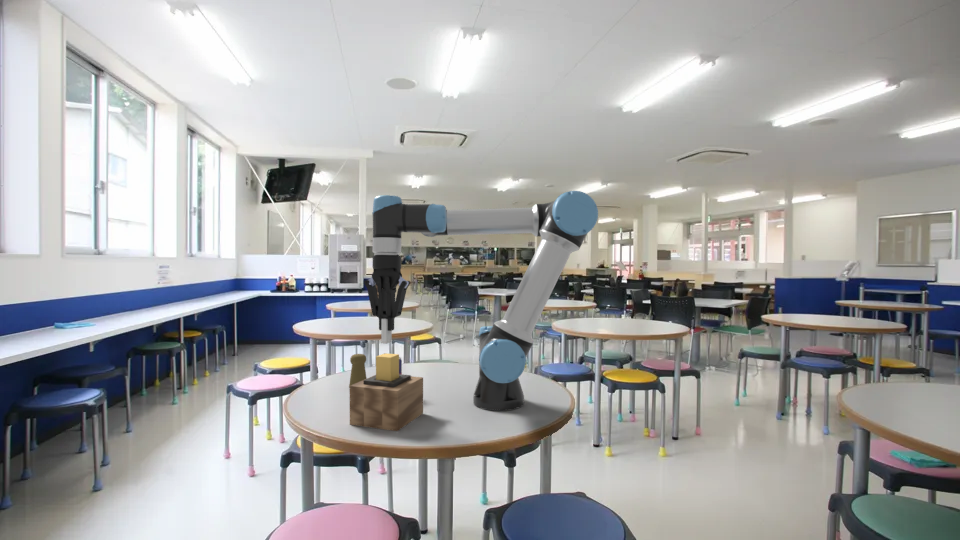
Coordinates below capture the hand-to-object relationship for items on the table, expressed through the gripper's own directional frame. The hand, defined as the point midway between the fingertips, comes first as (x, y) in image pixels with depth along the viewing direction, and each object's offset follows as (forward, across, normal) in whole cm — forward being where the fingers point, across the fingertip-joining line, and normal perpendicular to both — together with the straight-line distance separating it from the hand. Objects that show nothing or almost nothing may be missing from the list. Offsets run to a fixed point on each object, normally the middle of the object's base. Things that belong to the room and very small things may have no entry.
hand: (386, 342), depth 118 cm
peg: (+12, 0, 0) cm, 12 cm away
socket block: (+20, 0, 0) cm, 20 cm away
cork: (+21, +26, -24) cm, 41 cm away
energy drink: (+21, +9, -18) cm, 29 cm away
